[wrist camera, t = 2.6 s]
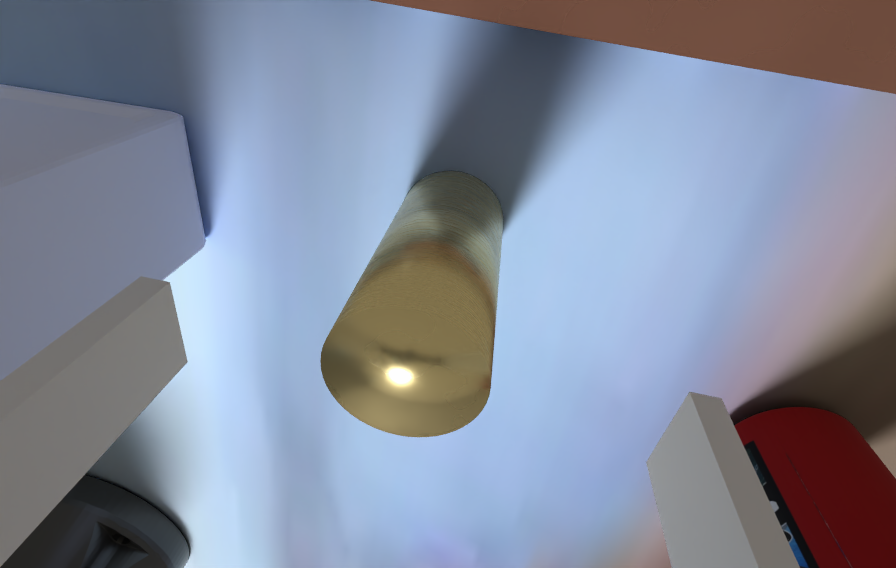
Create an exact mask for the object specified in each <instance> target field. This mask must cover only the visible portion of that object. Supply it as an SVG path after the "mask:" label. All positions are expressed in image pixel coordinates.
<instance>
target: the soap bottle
mask: <svg viewBox="0 0 896 568" xmlns="http://www.w3.org/2000/svg"><path fill="white" fill-rule="evenodd" d="M205 242H206V239H205V234H204V228H203V223H202V217H201V212H200V206H199V201H198V196H197V190H196V185H195V179H194V174H193V168H192V163H191V157H190V152H189V147H188V141H187V136H186V130H185V125H184V119H183V117H182V116H181V115H180V114H178V113H175V112H172V111H166V110H160V109H154V108H147V107H141V106H135V105H129V104H122V103H116V102H110V101H104V100H97V99H91V98H85V97H78V96H72V95H66V94H60V93H53V92H47V91H41V90H35V89H28V88H22V87H16V86H10V85H3V84H0V381H1V380H2V379H4V378H5V377H6V376H8V375H9V374H10V373H12V372H13V371H14V370H16V369H17V368H18V367H20V366H21V365H22V364H24V363H25V362H26V361H28V360H29V359H30V358H32V357H33V356H34V355H36V354H37V353H38V352H40V351H41V350H43V349H44V348H45V347H47V346H48V345H49V344H51V343H52V342H53V341H55V340H56V339H57V338H59V337H60V336H61V335H63V334H64V333H65V332H67V331H68V330H69V329H71V328H72V327H73V326H75V325H76V324H77V323H79V322H80V321H82V320H83V319H84V318H86V317H87V316H88V315H90V314H91V313H92V312H94V311H95V310H96V309H98V308H99V307H100V306H102V305H103V304H104V303H106V302H107V301H108V300H110V299H111V298H112V297H114V296H115V295H116V294H118V293H119V292H120V291H122V290H123V289H125V288H126V287H127V286H129V285H130V284H131V283H133V282H134V281H135V280H137V279H138V278H139V277H141V276H142V277H147V278H152V279H156V280H161V281H163V280H164V279H165V278H166V277H168V276H169V275H170V274H171V273H173V272H174V271H175V270H176V269H178V268H179V267H180V266H181V265H183V264H184V263H185V262H186V261H188V260H189V259H190V258H191V257H193V256H194V255H195V254H196V253H198V252H199V251H200V250H201V249H202V248H203V247H204V245H205Z"/></svg>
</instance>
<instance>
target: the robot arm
mask: <svg viewBox="0 0 896 568" xmlns="http://www.w3.org/2000/svg"><path fill="white" fill-rule="evenodd" d="M186 363H187V358H186V353H185V349H184V344H183V340H182V335H181V331H180V326H179V322H178V317H177V313H176V308H175V304H174V299H173V295H172V290H171V286H170V282H166V281H161V280H156V279H152V278H147V277H142V276H141V277H139V278H138V279H137V280H135V281H134V282H133V283H131V284H130V285H129V286H127V287H126V288H125V289H123V290H122V291H120V292H119V293H118V294H116V295H115V296H114V297H112V298H111V299H110V300H108V301H107V302H106V303H104V304H103V305H102V306H100V307H99V308H98V309H96V310H95V311H94V312H92V313H91V314H90V315H88V316H87V317H86V318H84V319H83V320H82V321H80V322H79V323H77V324H76V325H75V326H73V327H72V328H71V329H69V330H68V331H67V332H65V333H64V334H63V335H61V336H60V337H59V338H57V339H56V340H55V341H53V342H52V343H51V344H49V345H48V346H47V347H45V348H44V349H43V350H41V351H40V352H38V353H37V354H36V355H34V356H33V357H32V358H30V359H29V360H28V361H26V362H25V363H24V364H22V365H21V366H20V367H18V368H17V369H16V370H14V371H13V372H12V373H10V374H9V375H8V376H6V377H5V378H4V379H2V380H1V381H0V568H184V566H185V565H186V563H187V561H188V558H189V548H188V545H187V542H186V540H185V538H184V537H183V535H182V534H181V532H180V531H179V530H178V528H177V527H176V526H175V525H174V524H173V523H172V522H171V521H170V520H169V519H168V518H167V517H166V516H165V515H163V514H162V513H161V512H160V511H158V510H157V509H156V508H154V507H153V506H151V505H150V504H148V503H147V502H145V501H144V500H142V499H140V498H139V497H137V496H135V495H133V494H131V493H130V492H128V491H126V490H124V489H121V488H119V487H117V486H115V485H112V484H110V483H107V482H105V481H102V480H99V479H96V478H93V477H89V476H86V475H85V474H86V473H87V471H88V470H89V469H90V468H91V467H92V466H93V465H94V464H95V463H96V462H97V461H98V459H99V458H100V457H101V456H102V455H103V454H104V453H105V452H106V451H107V450H108V449H109V447H110V446H111V445H112V444H113V443H114V442H115V441H116V440H117V439H118V438H119V436H120V435H121V434H122V433H123V432H124V431H125V430H126V429H127V428H128V427H129V426H130V424H131V423H132V422H133V421H134V420H135V419H136V418H137V417H138V416H139V415H140V413H141V412H142V411H143V410H144V409H145V408H146V407H147V406H148V405H149V404H150V403H151V401H152V400H153V399H154V398H155V397H156V396H157V395H158V394H159V393H160V392H161V390H162V389H163V388H164V387H165V386H166V385H167V384H168V383H169V382H170V381H171V380H172V378H173V377H174V376H175V375H176V374H177V373H178V372H179V371H180V370H181V369H182V367H183V366H184V365H185V364H186ZM646 463H647V467H648V471H649V476H650V480H651V484H652V488H653V492H654V496H655V500H656V504H657V508H658V512H659V516H660V521H661V525H662V529H663V533H664V537H665V541H666V545H667V549H668V553H669V557H670V562H671V566H672V568H807V567H802V566H799V564H798V562H797V560H796V558H795V556H794V554H793V551H792V549H791V547H790V545H789V543H788V541H787V538H786V536H785V534H784V532H783V530H782V528H781V526H780V523H779V521H778V519H777V517H776V515H775V513H774V510H773V508H772V506H771V504H770V502H769V500H768V498H767V495H766V493H765V491H764V489H763V487H762V485H761V483H760V480H759V478H758V476H757V474H756V472H755V470H754V467H753V465H752V463H751V461H750V459H749V457H748V455H747V452H746V450H745V448H744V446H743V444H742V442H741V439H740V437H739V435H738V433H737V431H736V429H735V427H734V424H733V422H732V420H731V418H730V416H729V414H728V411H727V409H726V407H725V405H724V403H723V401H722V399H721V398H716V397H712V396H707V395H702V394H697V393H693V392H689V393H688V395H687V397H686V398H685V400H684V402H683V403H682V405H681V406H680V408H679V410H678V411H677V413H676V415H675V416H674V418H673V419H672V421H671V423H670V424H669V426H668V428H667V429H666V431H665V432H664V434H663V436H662V437H661V439H660V441H659V442H658V444H657V445H656V447H655V449H654V450H653V452H652V454H651V455H650V457H649V458H648V460H647V462H646Z"/></svg>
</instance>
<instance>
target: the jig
mask: <svg viewBox="0 0 896 568" xmlns="http://www.w3.org/2000/svg"><path fill="white" fill-rule="evenodd" d="M371 1H377V2H382V3H388V4H394V5H399V6H405V7H411V8H416V9H422V10H427V11H433V12H439V13H444V14H450V15H456V16H461V17H467V18H472V19H478V20H484V21H489V22H495V23H500V24H506V25H512V26H517V27H523V28H529V29H534V30H540V31H545V32H551V33H557V34H562V35H568V36H574V37H579V38H585V39H590V40H596V41H602V42H607V43H613V44H618V45H624V46H630V47H635V48H641V49H647V50H652V51H658V52H663V53H669V54H675V55H680V56H686V57H692V58H697V59H703V60H708V61H714V62H720V63H725V64H731V65H737V66H742V67H748V68H753V69H759V70H765V71H770V72H776V73H781V74H787V75H793V76H798V77H804V78H810V79H815V80H821V81H826V82H832V83H838V84H843V85H849V86H855V87H860V88H866V89H871V90H877V91H883V92H888V93H894V94H896V0H371Z"/></svg>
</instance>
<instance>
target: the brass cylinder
mask: <svg viewBox="0 0 896 568" xmlns="http://www.w3.org/2000/svg"><path fill="white" fill-rule="evenodd" d="M502 232H503V213H502V209H501V205H500V203H499V201H498V199H497V197H496V195H495V194H494V193H493V191H492V190H491V189H490V188H489V187H488V186H487V185H486V184H485V183H484V182H482V181H481V180H479V179H478V178H476V177H474V176H472V175H469V174H466V173H463V172H457V171H442V172H437V173H433V174H431V175H428V176H426V177H425V178H423V179H421V180H420V181H419V182H417V183H416V184H415V185H414V186H413V187H412V188H411V190H410V191H409V193H408V194H407V196H406V198H405V199H404V201H403V203H402V205H401V207H400V208H399V210H398V212H397V214H396V215H395V217H394V219H393V221H392V223H391V224H390V226H389V228H388V230H387V232H386V233H385V235H384V237H383V239H382V240H381V242H380V244H379V246H378V248H377V249H376V251H375V253H374V255H373V256H372V258H371V260H370V262H369V264H368V265H367V267H366V269H365V271H364V272H363V274H362V276H361V278H360V280H359V281H358V283H357V285H356V287H355V288H354V290H353V292H352V294H351V296H350V297H349V299H348V301H347V303H346V305H345V306H344V308H343V310H342V312H341V313H340V315H339V317H338V319H337V321H336V322H335V324H334V326H333V328H332V329H331V331H330V333H329V335H328V337H327V339H326V341H325V343H324V345H323V348H322V352H321V371H322V374H323V378H324V381H325V383H326V385H327V387H328V389H329V391H330V392H331V394H332V395H333V397H334V398H335V399H336V400H337V402H338V403H339V404H340V405H341V406H342V407H343V408H344V409H345V410H347V411H348V412H349V413H350V414H351V415H353V416H354V417H356V418H357V419H359V420H360V421H362V422H364V423H366V424H368V425H370V426H372V427H374V428H376V429H379V430H382V431H385V432H388V433H392V434H396V435H401V436H408V437H431V436H438V435H443V434H447V433H450V432H453V431H456V430H458V429H460V428H462V427H464V426H465V425H467V424H468V423H470V422H471V421H472V420H474V419H475V418H476V417H477V416H478V415H479V413H480V412H481V411H482V410H483V408H484V406H485V405H486V403H487V400H488V397H489V394H490V388H491V376H492V363H493V350H494V337H495V323H496V310H497V297H498V284H499V271H500V258H501V245H502Z"/></svg>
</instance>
